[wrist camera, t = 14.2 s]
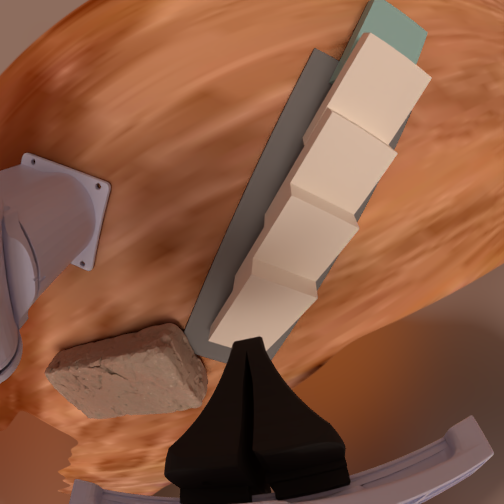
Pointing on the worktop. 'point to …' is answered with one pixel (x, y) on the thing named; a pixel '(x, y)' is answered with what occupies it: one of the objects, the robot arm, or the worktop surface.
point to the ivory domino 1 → (374, 89)
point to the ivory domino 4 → (262, 305)
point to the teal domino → (386, 32)
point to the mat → (264, 204)
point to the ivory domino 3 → (302, 235)
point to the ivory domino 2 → (338, 163)
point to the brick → (131, 374)
